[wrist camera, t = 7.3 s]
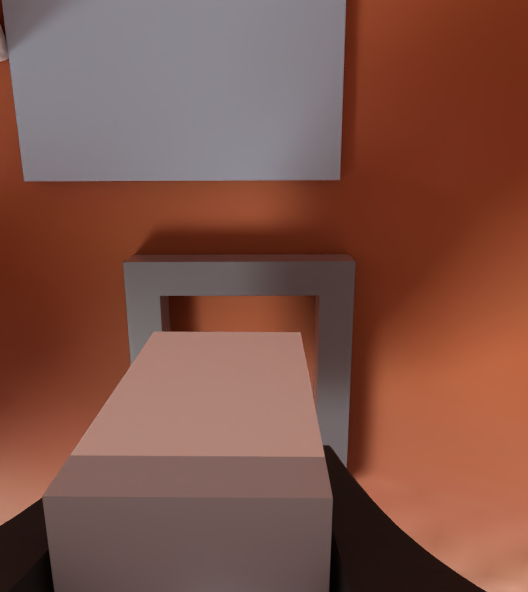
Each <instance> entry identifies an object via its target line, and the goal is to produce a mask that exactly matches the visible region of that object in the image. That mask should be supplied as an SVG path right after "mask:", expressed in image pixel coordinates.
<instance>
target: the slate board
mask: <svg viewBox="0 0 528 592" xmlns="http://www.w3.org/2000/svg"><path fill="white" fill-rule="evenodd" d="M2 7H3V15H4V23H5V31H6V39H7V47H8V55H9V63H10V71H11V79H12V88H13V96H14V104H15V112H16V120H17V128H18V136H19V144H20V152H21V160H22V169H23V177H24V181H229V180H340V167H341V137H342V107H343V77H344V47H345V18H346V0H2Z"/></svg>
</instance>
